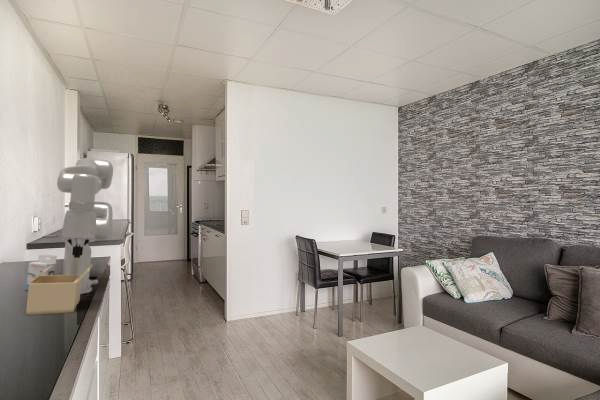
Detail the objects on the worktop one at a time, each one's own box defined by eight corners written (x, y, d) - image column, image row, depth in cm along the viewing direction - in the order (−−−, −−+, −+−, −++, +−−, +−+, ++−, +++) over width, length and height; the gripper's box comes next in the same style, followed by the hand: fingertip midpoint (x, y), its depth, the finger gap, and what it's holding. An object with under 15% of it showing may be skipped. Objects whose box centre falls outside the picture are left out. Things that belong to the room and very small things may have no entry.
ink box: (25, 291, 139) (28, 255, 140) (35, 288, 144) (39, 254, 145) (44, 293, 138) (47, 256, 139) (54, 290, 143) (57, 255, 144)
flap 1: (30, 283, 112) (28, 281, 112) (39, 275, 124) (38, 274, 124) (44, 272, 113) (43, 271, 113) (52, 265, 126) (51, 264, 125)
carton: (37, 302, 124) (40, 275, 125) (79, 300, 130) (82, 274, 131) (25, 315, 110) (29, 284, 111) (73, 312, 116) (76, 282, 116)
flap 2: (81, 274, 130) (82, 275, 130) (76, 281, 117) (78, 282, 118) (91, 264, 131) (92, 264, 131) (87, 270, 119) (88, 270, 119)
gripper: (55, 206, 118) (50, 259, 117) (104, 209, 125) (100, 259, 124) (58, 205, 124) (53, 255, 124) (105, 208, 131) (101, 255, 131)
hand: (77, 257), depth 124 cm, fingers closed
